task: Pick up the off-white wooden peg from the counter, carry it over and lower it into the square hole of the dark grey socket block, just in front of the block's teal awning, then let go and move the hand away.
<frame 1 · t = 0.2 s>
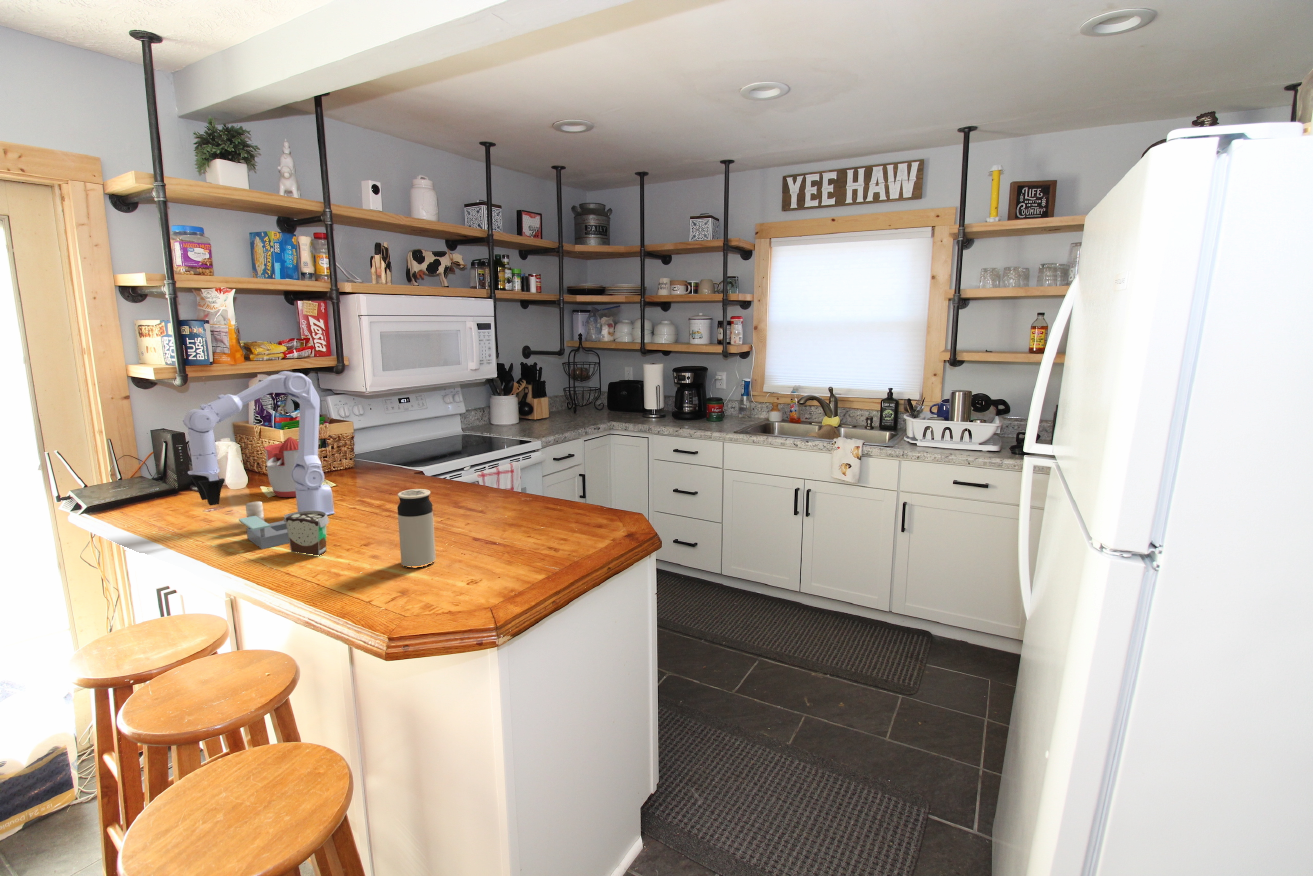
hand: (210, 501, 174), 10 cm above the countertop, tool pointing down, fingers open, 7 cm apart
peg: (256, 530, 181), on the countertop
food container: (315, 551, 165), on the countertop
socket block: (279, 538, 174), on the countertop
citrus juicer: (293, 495, 219), on the countertop
travel mug: (418, 563, 157), on the countertop
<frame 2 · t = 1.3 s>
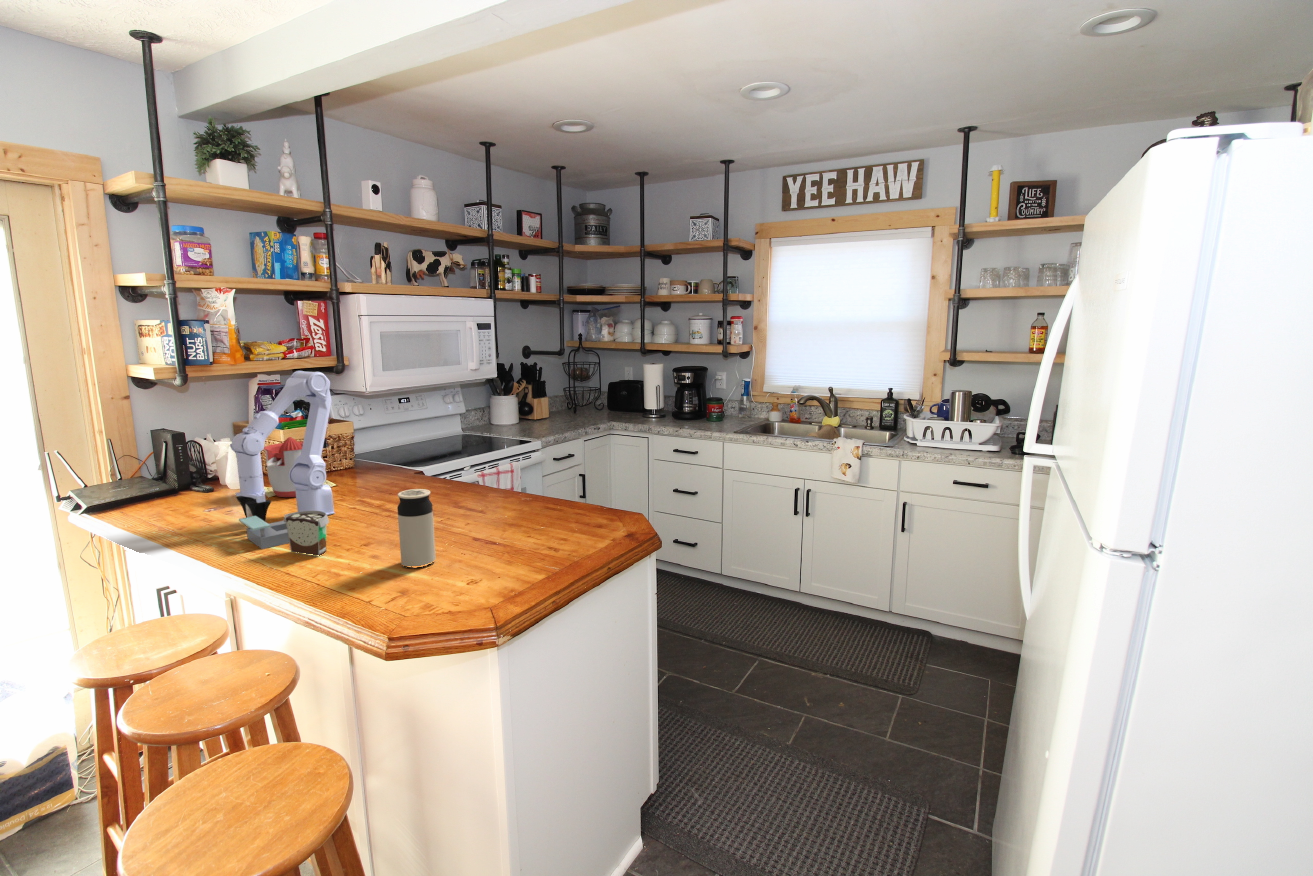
hand: (255, 522, 180), 2 cm above the countertop, tool pointing down, fingers open, 7 cm apart
nothing on the countertop moved.
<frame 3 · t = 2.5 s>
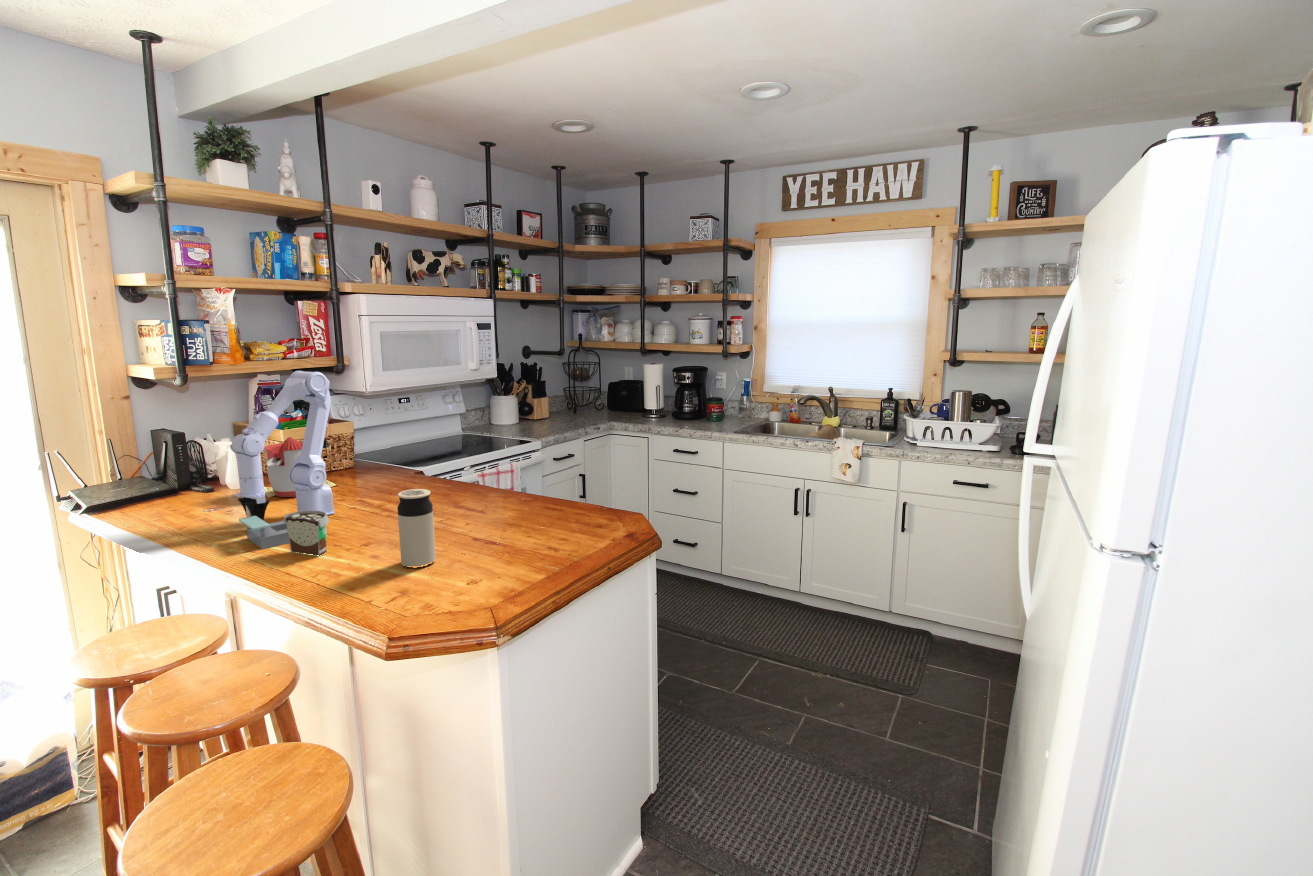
hand: (256, 523, 180), 2 cm above the countertop, tool pointing down, fingers closed on peg, 4 cm apart
peg: (256, 530, 181), on the countertop, touching gripper
everything else where it was.
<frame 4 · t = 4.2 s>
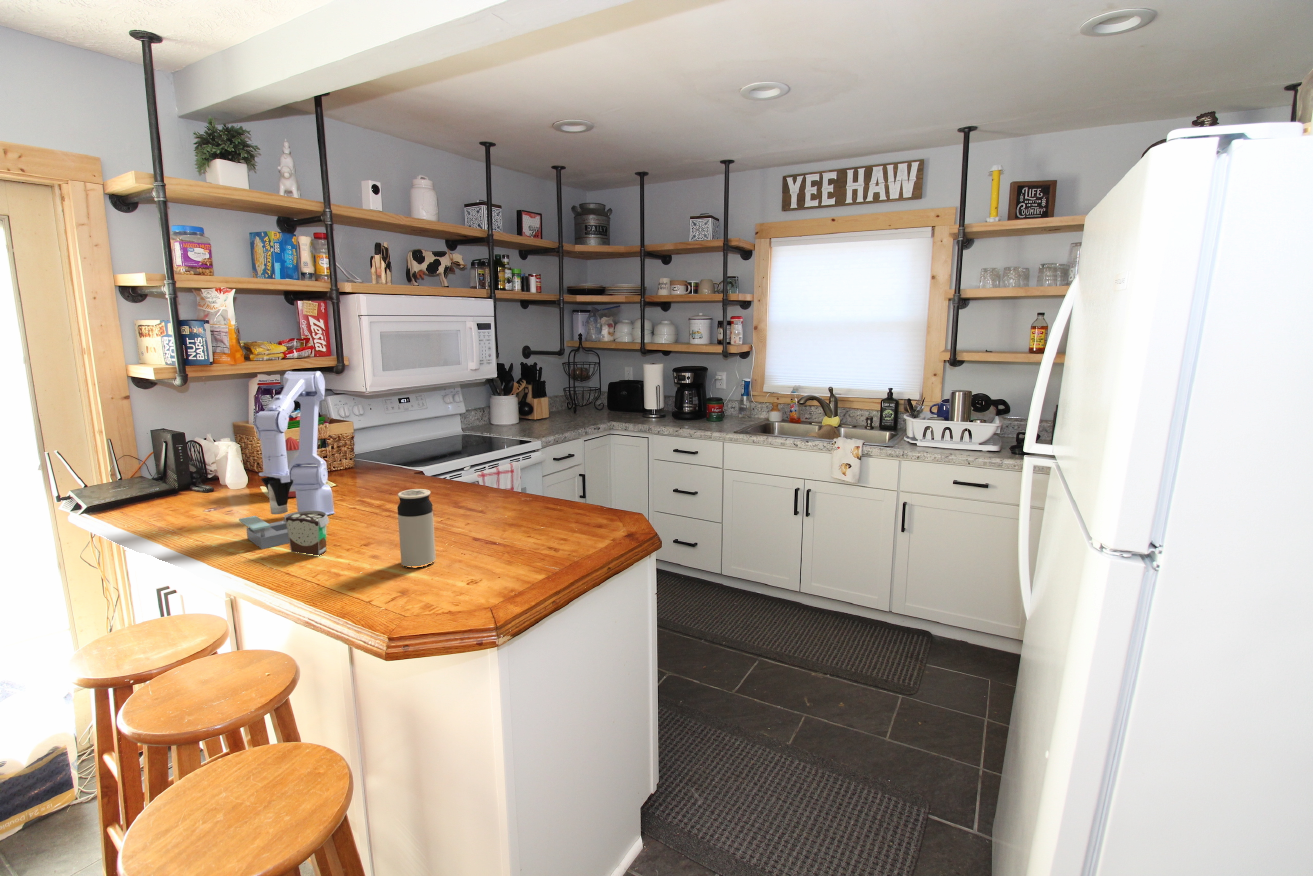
hand: (279, 503, 174), 9 cm above the countertop, tool pointing down, fingers closed on peg, 4 cm apart
peg: (279, 512, 174), point 7 cm above the countertop, touching gripper
everything else where it was.
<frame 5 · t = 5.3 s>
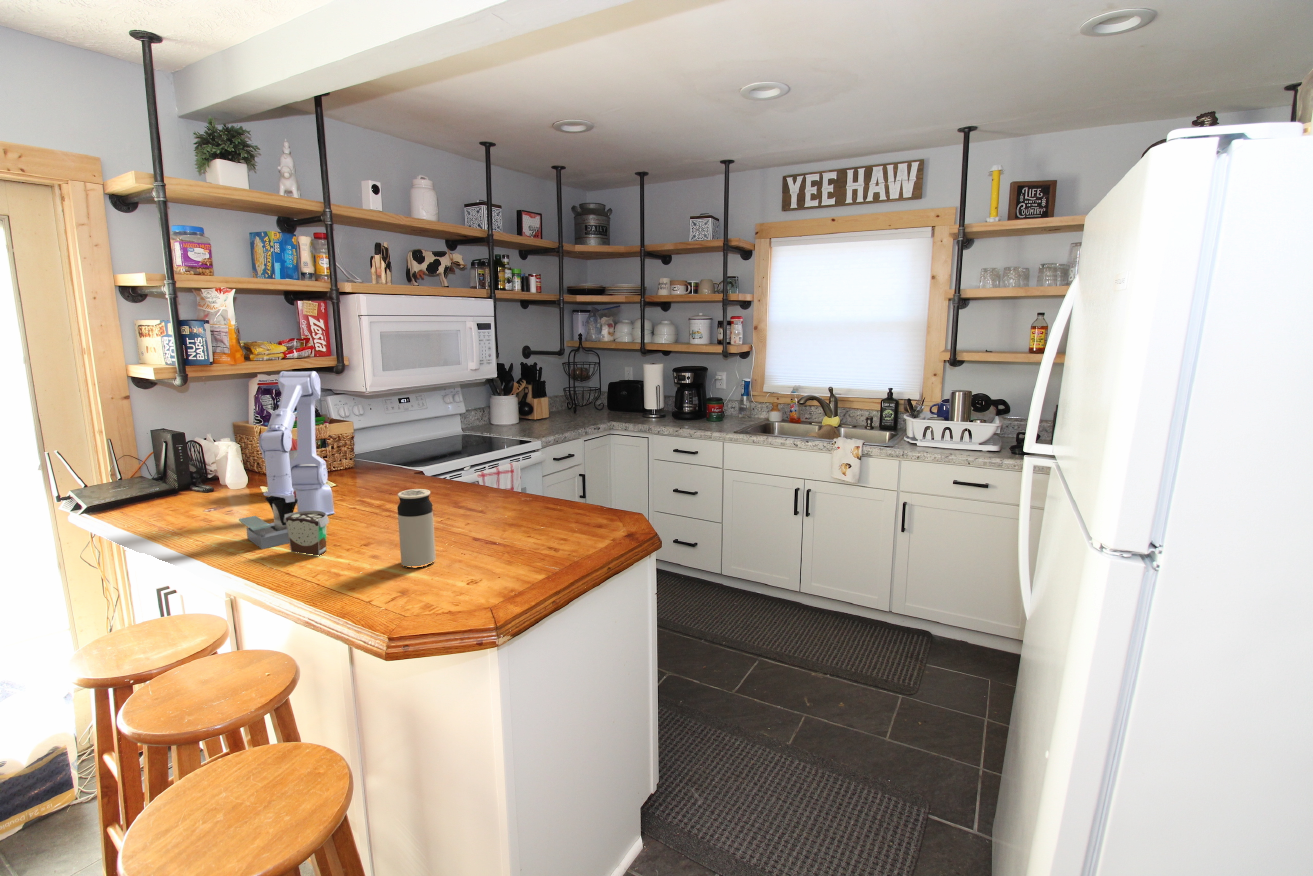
hand: (283, 522, 175), 4 cm above the countertop, tool pointing down, fingers closed on peg, 4 cm apart
peg: (283, 531, 175), point 2 cm above the countertop, touching gripper
everything else where it was.
when the fingers open (4 cm above the countertop, at t = 6.2 s): peg drops 2 cm, resting in socket block.
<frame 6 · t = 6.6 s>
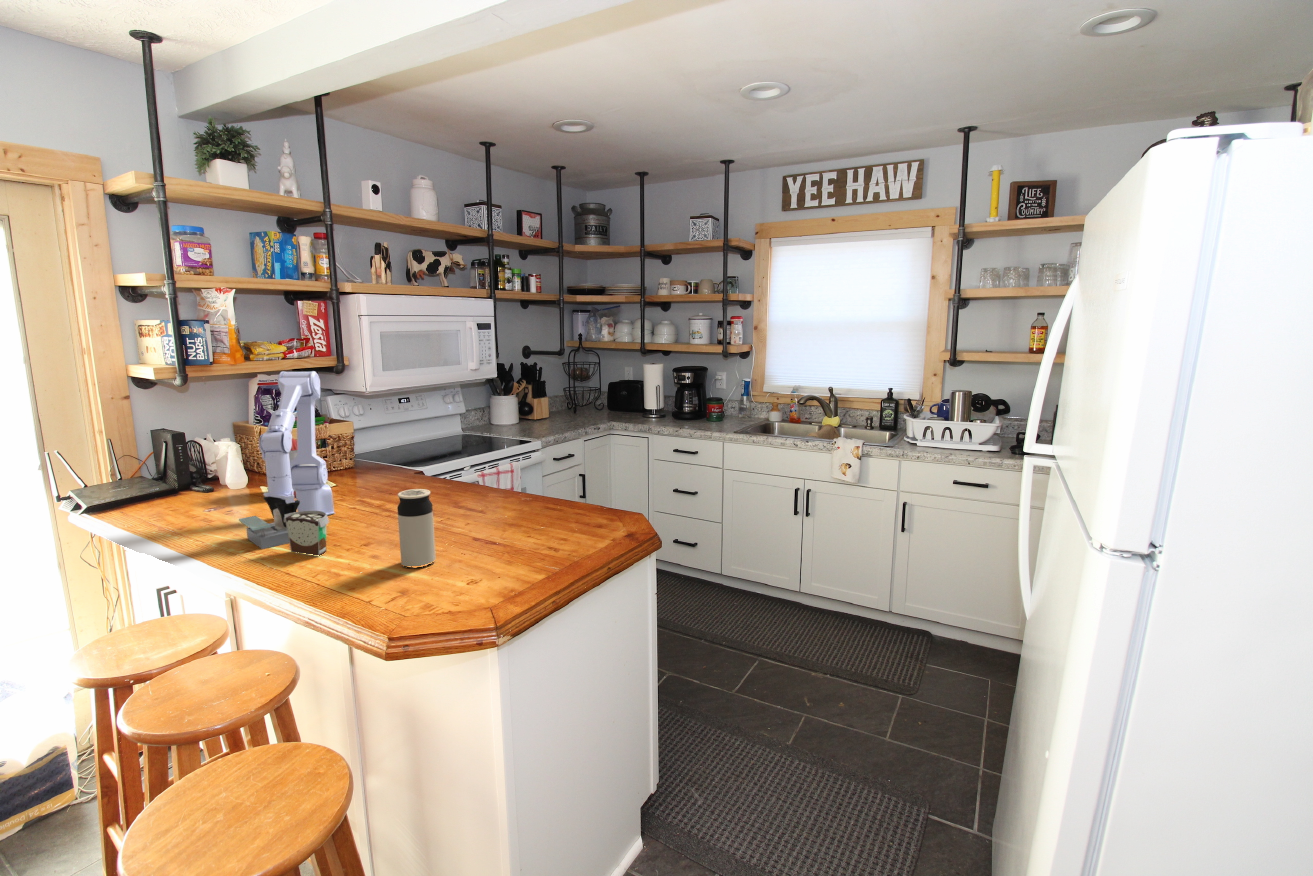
hand: (284, 523, 175), 4 cm above the countertop, tool pointing down, fingers open, 7 cm apart
peg: (284, 537, 175), resting in socket block
everything else where it was.
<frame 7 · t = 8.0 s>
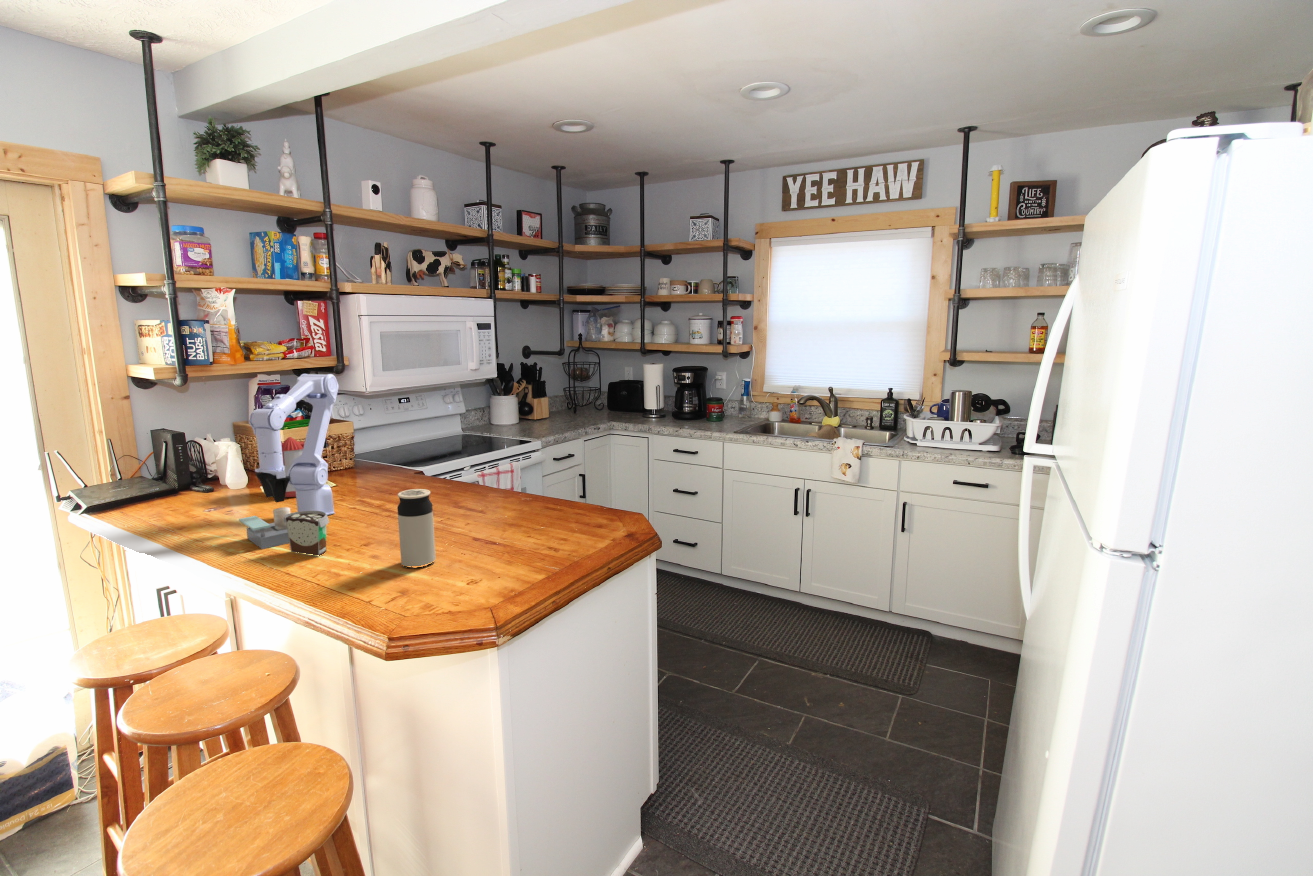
hand: (275, 499, 179), 9 cm above the countertop, tool pointing down, fingers open, 7 cm apart
nothing on the countertop moved.
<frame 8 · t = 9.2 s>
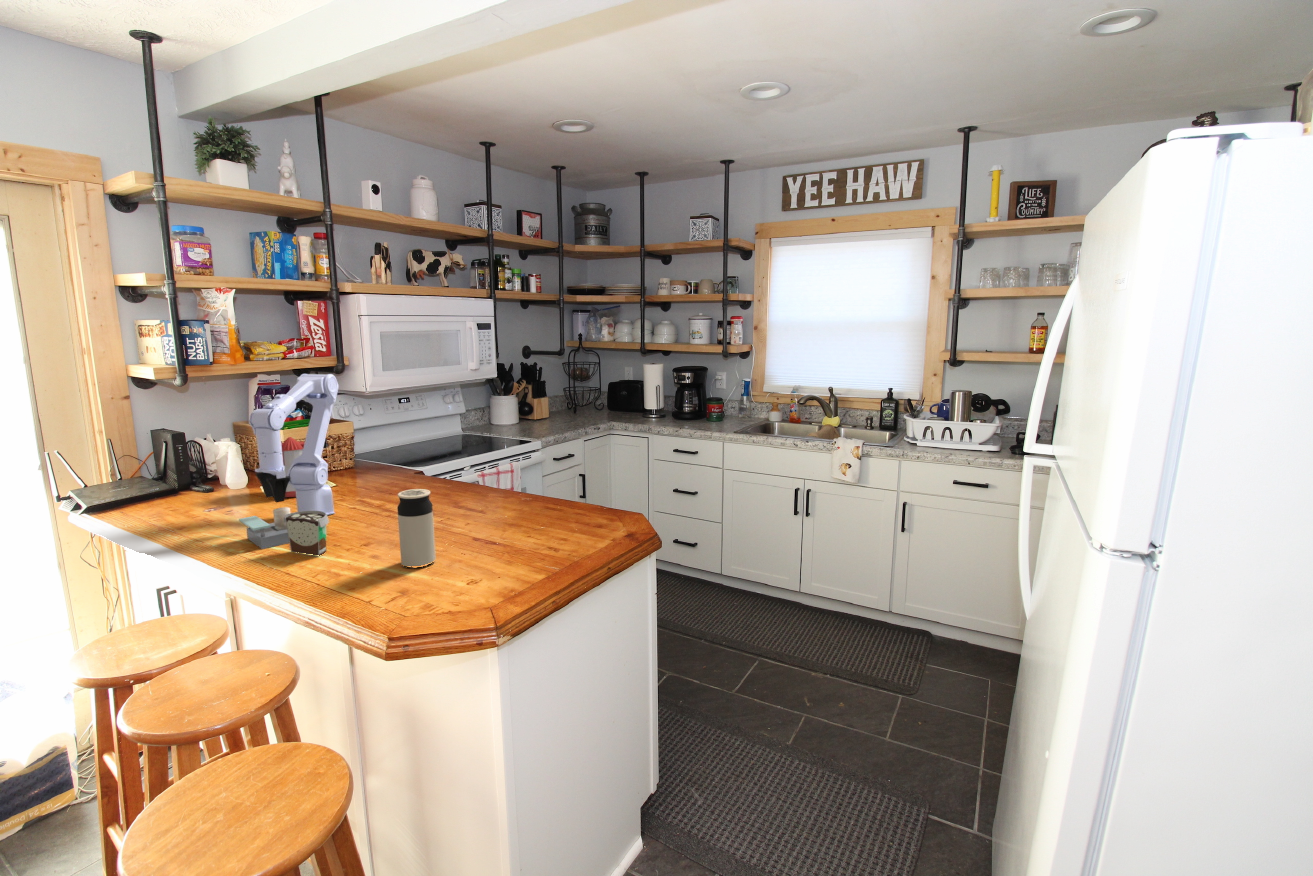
hand: (275, 499, 179), 9 cm above the countertop, tool pointing down, fingers open, 7 cm apart
nothing on the countertop moved.
at the end: peg 0.2 cm from the target spot on the socket block, point 0.0 cm above the socket block's base; peg tilted 0°; the gripper is holding nothing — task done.
